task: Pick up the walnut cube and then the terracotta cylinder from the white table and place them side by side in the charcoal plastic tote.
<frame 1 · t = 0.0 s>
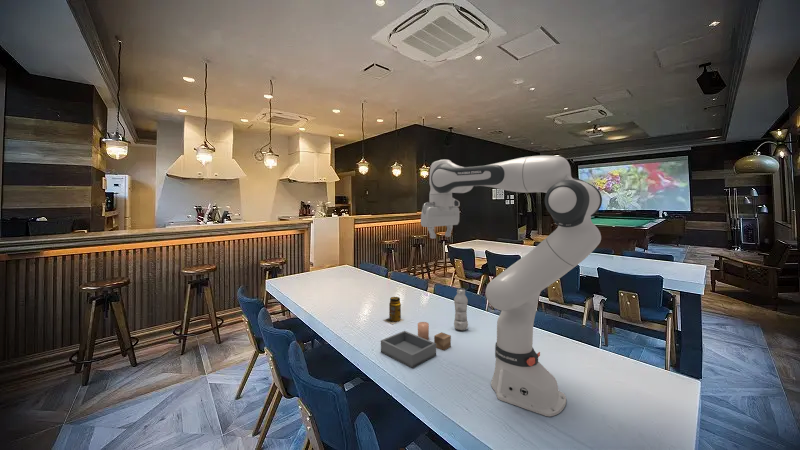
hand: (440, 237, 121), 48 cm above the table, tool pointing down, fingers open, 8 cm apart
plastic bottle: (460, 329, 150), on the table
terracotta cylinder: (423, 338, 140), on the table
condiment: (393, 320, 162), on the table
walnut cube: (442, 346, 132), on the table
tote: (408, 353, 126), on the table
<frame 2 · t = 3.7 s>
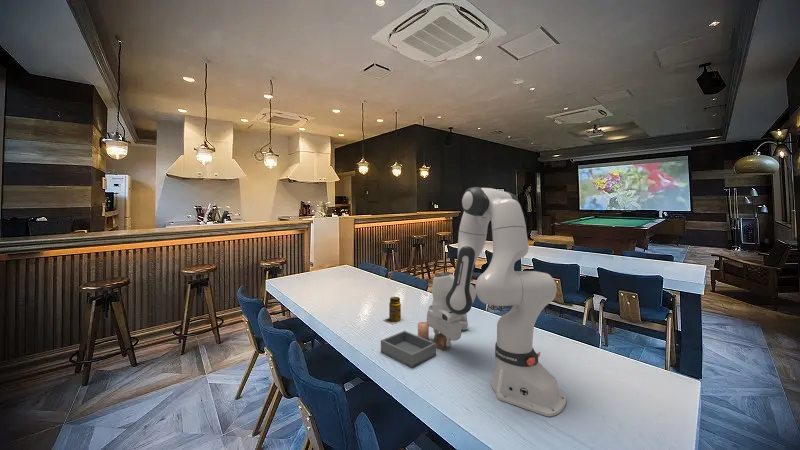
hand: (442, 342, 132), 2 cm above the table, tool pointing down, fingers closed on walnut cube, 6 cm apart
walnut cube: (442, 346, 132), on the table, touching gripper
everything else where it was.
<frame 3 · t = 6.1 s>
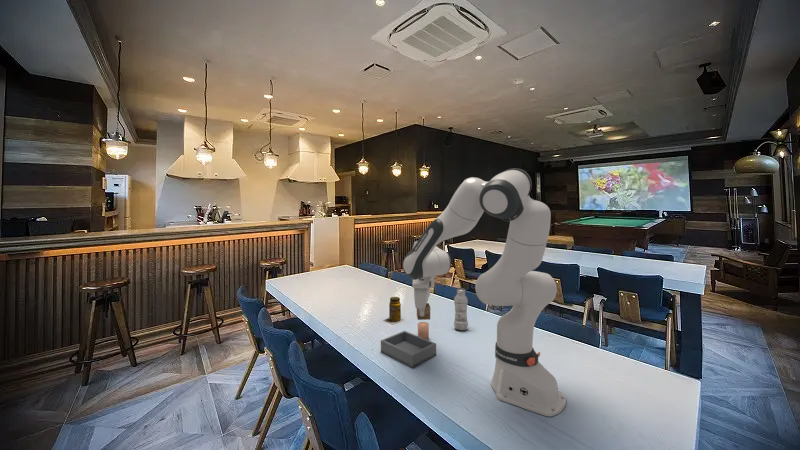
hand: (423, 312, 124), 17 cm above the table, tool pointing down, fingers closed on walnut cube, 6 cm apart
walnut cube: (423, 317, 125), point 15 cm above the table, touching gripper
everything else where it was.
when the fingers open (5 cm above the table, at t = 8.7 s): walnut cube drops 2 cm, resting on tote.
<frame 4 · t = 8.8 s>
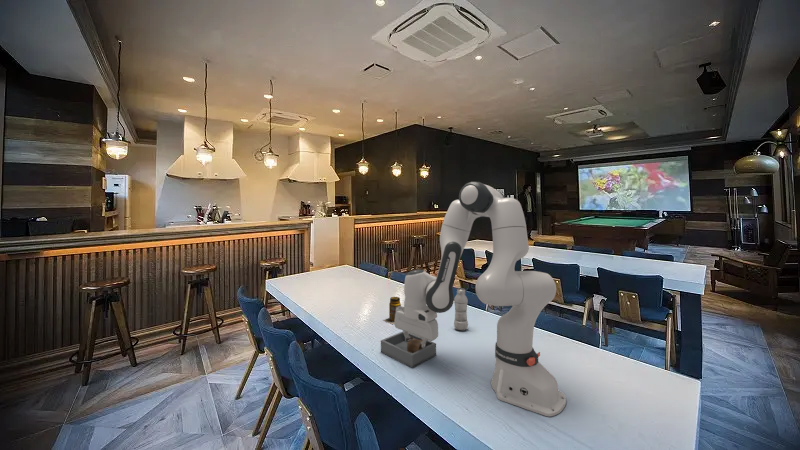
hand: (415, 344, 123), 5 cm above the table, tool pointing down, fingers open, 6 cm apart
walnut cube: (415, 354, 123), point 1 cm above the table, touching gripper, tote
everything else where it was.
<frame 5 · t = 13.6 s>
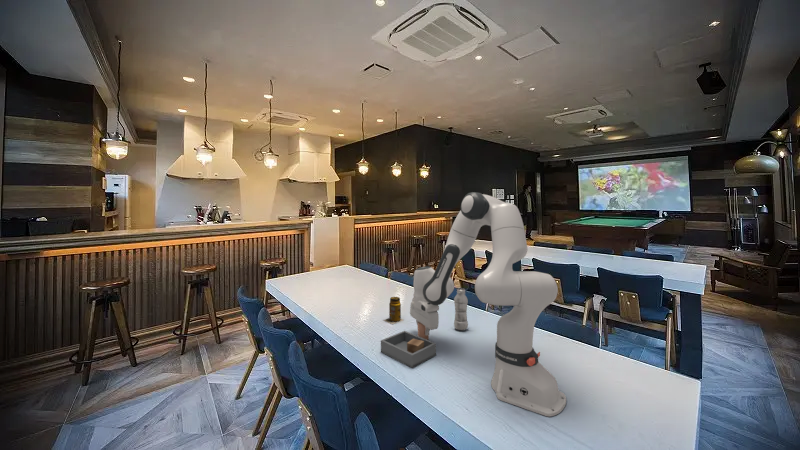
hand: (423, 332, 140), 3 cm above the table, tool pointing down, fingers closed on terracotta cylinder, 5 cm apart
terracotta cylinder: (423, 338, 140), on the table, touching gripper
walnut cube: (415, 354, 123), point 1 cm above the table, touching tote
everything else where it was.
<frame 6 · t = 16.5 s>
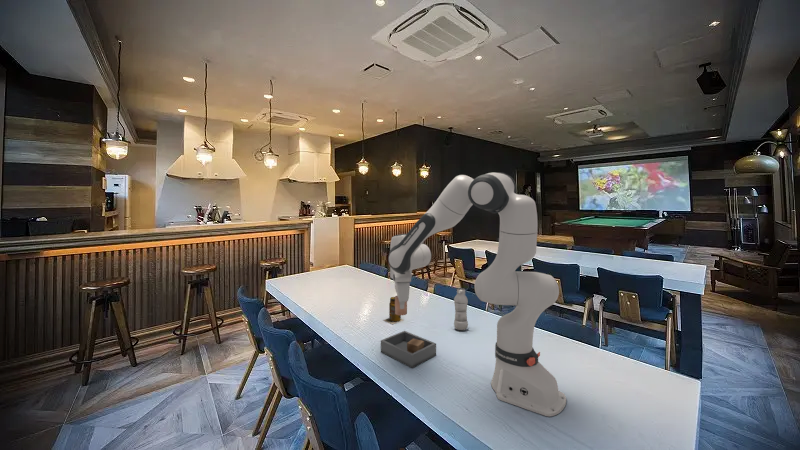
hand: (401, 305, 127), 19 cm above the table, tool pointing down, fingers closed on terracotta cylinder, 5 cm apart
terracotta cylinder: (401, 313, 128), point 16 cm above the table, touching gripper
everything else where it was.
when the fingers open (6 cm above the table, at t = 19.4 s): terracotta cylinder drops 2 cm, resting on tote.
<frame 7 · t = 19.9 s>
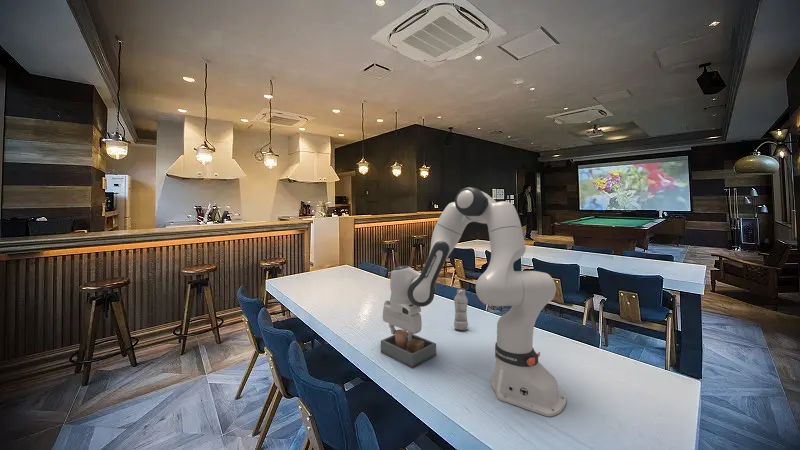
hand: (401, 337, 128), 6 cm above the table, tool pointing down, fingers open, 8 cm apart
terracotta cylinder: (401, 348, 128), point 1 cm above the table, touching tote
walnut cube: (415, 354, 123), point 1 cm above the table, touching gripper, tote
everything else where it was.
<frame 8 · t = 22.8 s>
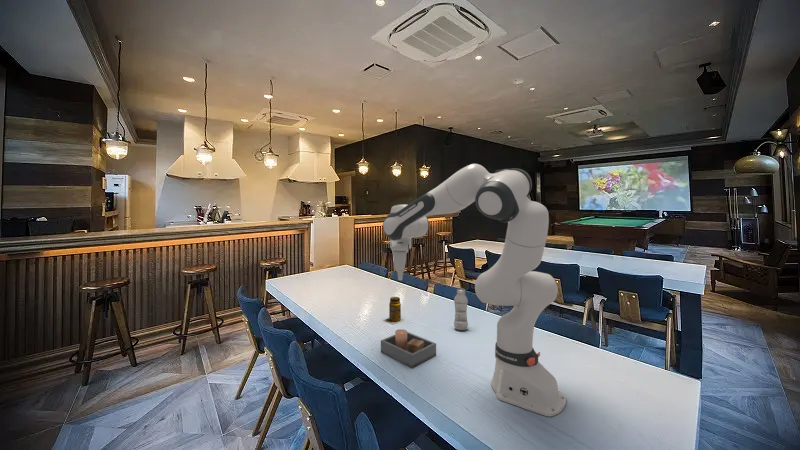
hand: (400, 277, 127), 31 cm above the table, tool pointing down, fingers open, 8 cm apart
walnut cube: (415, 354, 123), point 1 cm above the table, touching tote
everything else where it was.
at the end: walnut cube inside the target area on the tote (4.0 cm from its centre), point 1.0 cm above the tote's base; terracotta cylinder inside the target area on the tote (4.0 cm from its centre), point 1.0 cm above the tote's base; terracotta cylinder tilted 1° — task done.
